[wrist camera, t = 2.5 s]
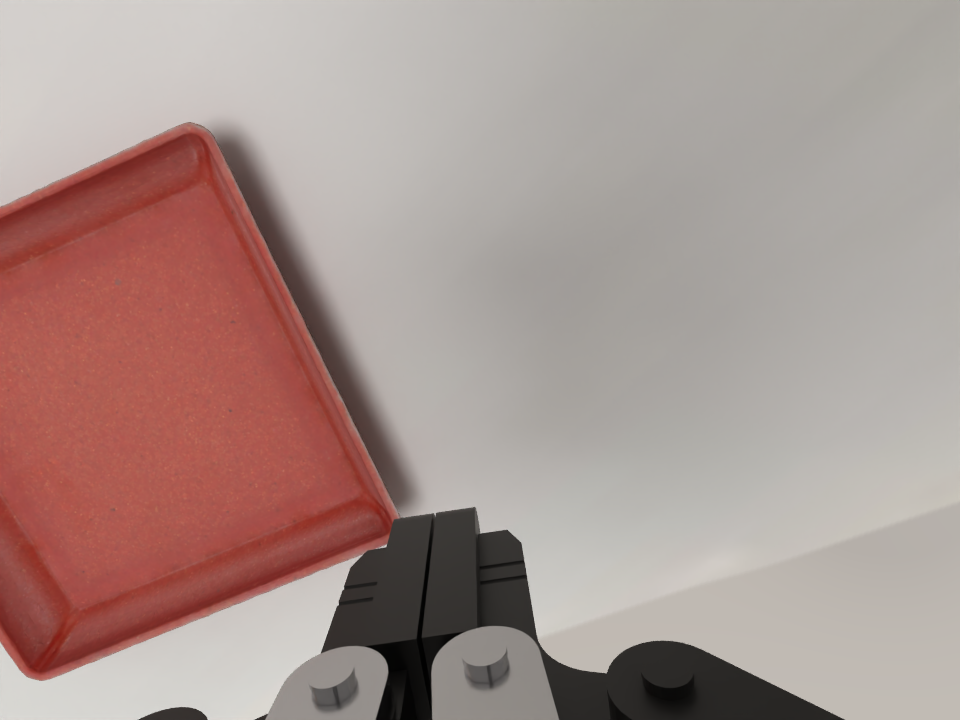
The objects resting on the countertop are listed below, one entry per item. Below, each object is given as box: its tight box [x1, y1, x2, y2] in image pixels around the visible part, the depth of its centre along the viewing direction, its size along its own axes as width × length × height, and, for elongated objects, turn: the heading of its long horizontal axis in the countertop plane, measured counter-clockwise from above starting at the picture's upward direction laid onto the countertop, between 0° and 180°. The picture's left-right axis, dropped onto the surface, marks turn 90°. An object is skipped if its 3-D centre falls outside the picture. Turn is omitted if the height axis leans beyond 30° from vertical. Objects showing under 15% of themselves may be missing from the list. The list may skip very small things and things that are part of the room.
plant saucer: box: [0, 122, 401, 681], centre depth 26 cm, size 18×18×3 cm
